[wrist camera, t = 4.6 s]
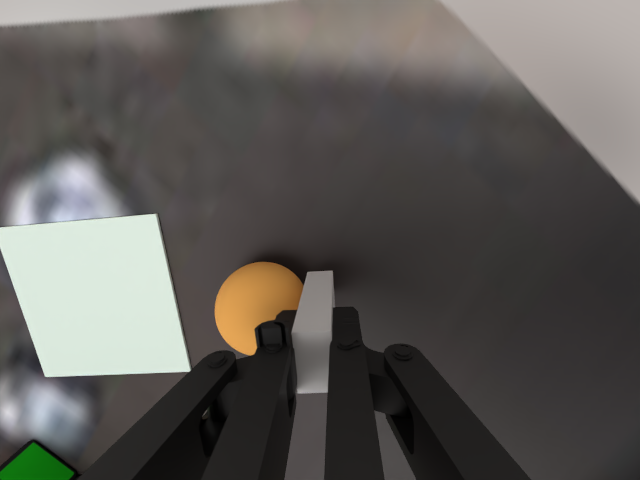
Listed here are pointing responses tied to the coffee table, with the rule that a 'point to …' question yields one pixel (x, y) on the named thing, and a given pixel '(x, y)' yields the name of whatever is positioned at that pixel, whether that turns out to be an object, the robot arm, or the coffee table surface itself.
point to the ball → (254, 301)
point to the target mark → (97, 296)
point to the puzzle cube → (35, 465)
